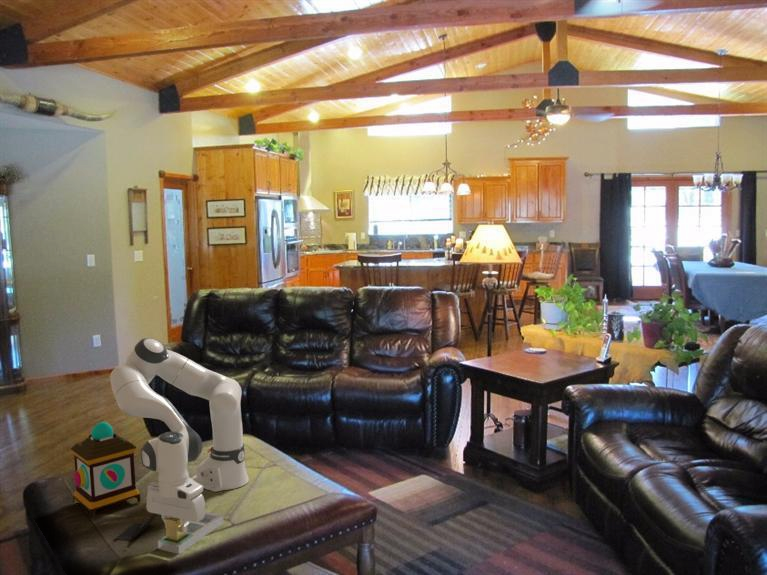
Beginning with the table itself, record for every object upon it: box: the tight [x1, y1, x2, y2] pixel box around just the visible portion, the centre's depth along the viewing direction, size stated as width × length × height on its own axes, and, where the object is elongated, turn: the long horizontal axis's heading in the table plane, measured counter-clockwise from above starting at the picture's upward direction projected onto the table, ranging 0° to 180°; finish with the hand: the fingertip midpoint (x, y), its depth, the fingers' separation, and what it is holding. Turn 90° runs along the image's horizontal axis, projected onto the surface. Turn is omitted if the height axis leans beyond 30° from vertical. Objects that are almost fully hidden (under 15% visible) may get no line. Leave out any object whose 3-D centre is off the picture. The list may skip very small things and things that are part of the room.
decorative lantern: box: [70, 421, 141, 519], centre depth 221 cm, size 20×20×30 cm
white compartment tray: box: [157, 511, 224, 555], centre depth 197 cm, size 8×21×3 cm, turn 157°
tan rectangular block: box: [164, 517, 187, 543], centre depth 190 cm, size 4×4×8 cm
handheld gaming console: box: [113, 513, 158, 542], centre depth 199 cm, size 12×7×10 cm
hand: (176, 529), depth 190 cm, fingers closed on tan rectangular block, 4 cm apart
